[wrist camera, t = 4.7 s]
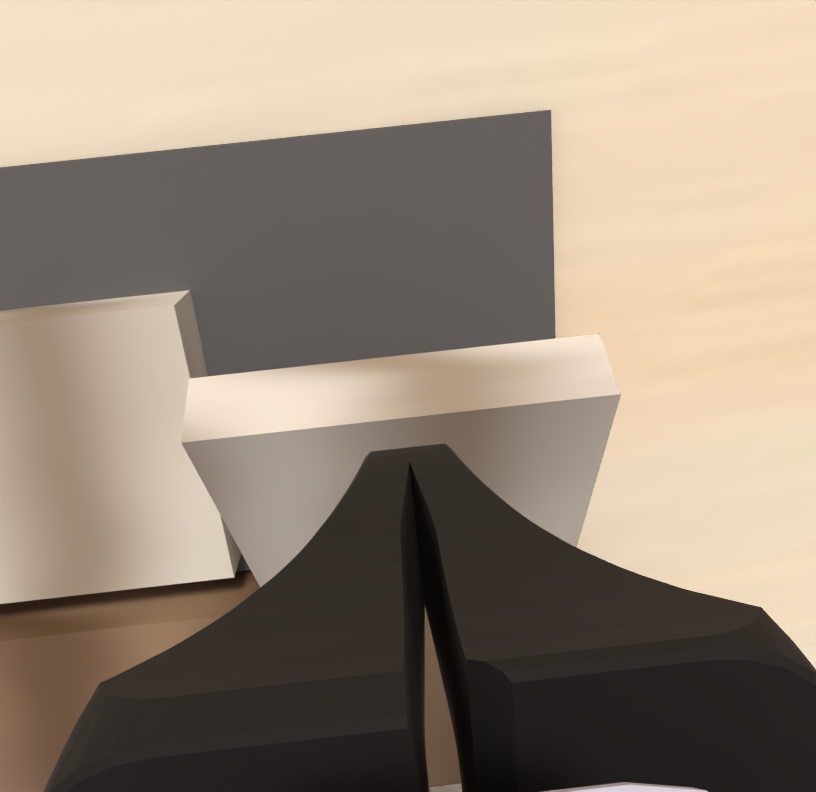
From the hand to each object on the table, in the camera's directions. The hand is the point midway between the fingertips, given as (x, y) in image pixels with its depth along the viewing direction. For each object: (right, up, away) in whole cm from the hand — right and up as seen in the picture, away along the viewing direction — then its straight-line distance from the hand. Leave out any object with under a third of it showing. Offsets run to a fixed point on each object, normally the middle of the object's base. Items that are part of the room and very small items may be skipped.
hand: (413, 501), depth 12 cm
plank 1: (-9, +1, +6) cm, 11 cm away
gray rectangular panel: (-5, +2, +6) cm, 8 cm away
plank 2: (0, 0, +5) cm, 5 cm away
